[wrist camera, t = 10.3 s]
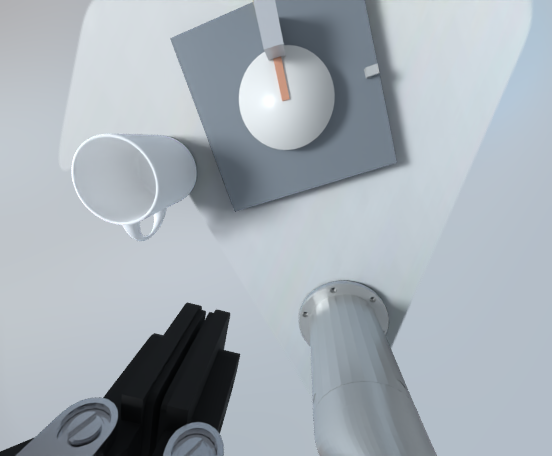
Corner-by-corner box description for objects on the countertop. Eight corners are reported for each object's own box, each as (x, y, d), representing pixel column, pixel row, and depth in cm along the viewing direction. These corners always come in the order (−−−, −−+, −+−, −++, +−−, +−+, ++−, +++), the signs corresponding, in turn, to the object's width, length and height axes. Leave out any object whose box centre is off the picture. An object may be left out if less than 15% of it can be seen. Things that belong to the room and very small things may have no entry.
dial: (340, 137, 31) (347, 137, 26) (254, 158, 33) (245, 161, 28) (318, 3, 28) (321, -27, 23) (223, 33, 29) (207, 11, 24)
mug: (137, 221, 39) (79, 250, 29) (133, 131, 35) (65, 128, 25) (197, 229, 39) (160, 262, 28) (200, 139, 35) (157, 139, 25)
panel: (391, 161, 34) (399, 163, 31) (238, 208, 37) (233, 213, 34) (352, -32, 28) (357, -49, 26) (178, 44, 32) (166, 35, 29)
